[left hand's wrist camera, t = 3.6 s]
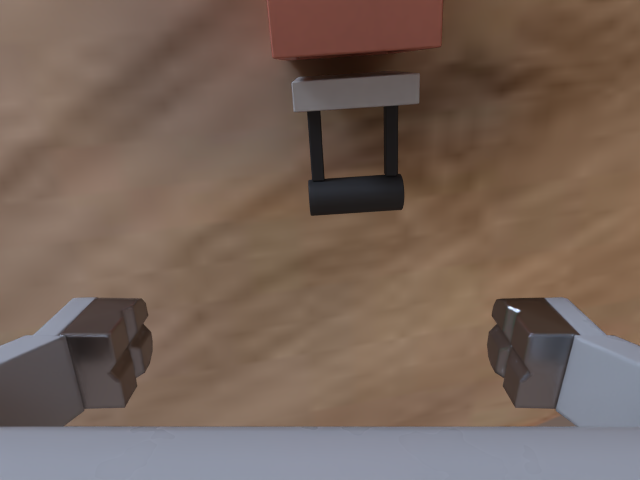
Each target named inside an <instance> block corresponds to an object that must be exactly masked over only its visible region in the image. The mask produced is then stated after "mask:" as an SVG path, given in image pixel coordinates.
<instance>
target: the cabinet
mask: <svg viewBox="0 0 640 480" xmlns="http://www.w3.org/2000/svg"><path fill="white" fill-rule="evenodd" d="M267 7H268V18H269V28H270V38H271V48H272V57H273V58H274V59H280V60H286V61H290V60H304V59H319V58H333V57H347V56H362V55H376V54H391V53H401V52H408V51H415V50H423V49H430V48H437V47H441V44H442V17H443V0H267Z"/></svg>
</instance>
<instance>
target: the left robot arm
mask: <svg viewBox="0 0 640 480" xmlns="http://www.w3.org/2000/svg"><path fill="white" fill-rule="evenodd" d="M147 317H148V312H147V307H146V303H145V302H144V300H143V299H142V298H97V297H88V298H73V299H72V300H71V301H70V302H69V303H67V304H66V305H65V306H64V307H63V308H62V309H61V310H60V311H59V312H58V313H57V314H56V315H54V316H53V317H52V318H51V319H50V320H49V321H48V322H47V323H46V324H45V325H44V326H43V327H42V328H40V329H39V330H38V331H37V332H36V333H35V334H34V335H26V336H23V337H21V338H18V339H16V340H13V341H11V342H9V343H6V344H4V345H1V346H0V480H640V346H639V345H636V344H634V343H631V342H629V341H627V340H624V339H622V338H619V337H617V336H614V335H606V334H605V333H604V332H603V331H602V330H601V329H600V328H599V327H597V326H596V325H595V324H594V323H593V322H592V321H591V320H590V319H589V318H588V317H587V316H586V315H585V314H583V313H582V312H581V311H580V310H579V309H578V308H577V307H576V306H575V305H574V304H573V303H572V302H571V301H569V300H568V299H566V298H563V297H554V298H510V299H497V300H496V302H495V304H494V306H493V311H492V317H493V318H494V320H495V321H496V323H497V324H496V325H495V326H494V327H493V328H492V329H491V330H490V331H489V335H488V342H487V348H488V357H489V360H490V364H491V366H492V368H493V370H494V371H495V373H497V374H498V375H500V376H502V377H503V378H504V382H503V387H504V389H505V391H506V392H507V394H508V396H509V398H510V399H511V401H512V403H513V404H514V406H515V408H550V409H556V411H557V412H558V413H560V414H561V415H562V416H564V417H565V418H566V419H568V420H569V421H570V422H572V423H573V424H574V425H576V426H577V427H63V426H64V425H66V424H67V423H68V422H70V421H71V420H72V419H74V418H75V417H76V416H78V415H79V414H80V413H82V412H83V411H84V409H90V408H125V406H126V404H127V403H128V401H129V399H130V398H131V396H132V394H133V392H134V391H135V389H136V387H137V382H136V378H137V377H138V376H140V375H142V374H143V373H145V371H146V370H147V368H148V366H149V364H150V360H151V356H152V352H153V341H152V334H151V331H150V330H149V329H148V328H147V327H146V326H145V325H144V324H143V323H144V322H145V320H146V318H147Z"/></svg>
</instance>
